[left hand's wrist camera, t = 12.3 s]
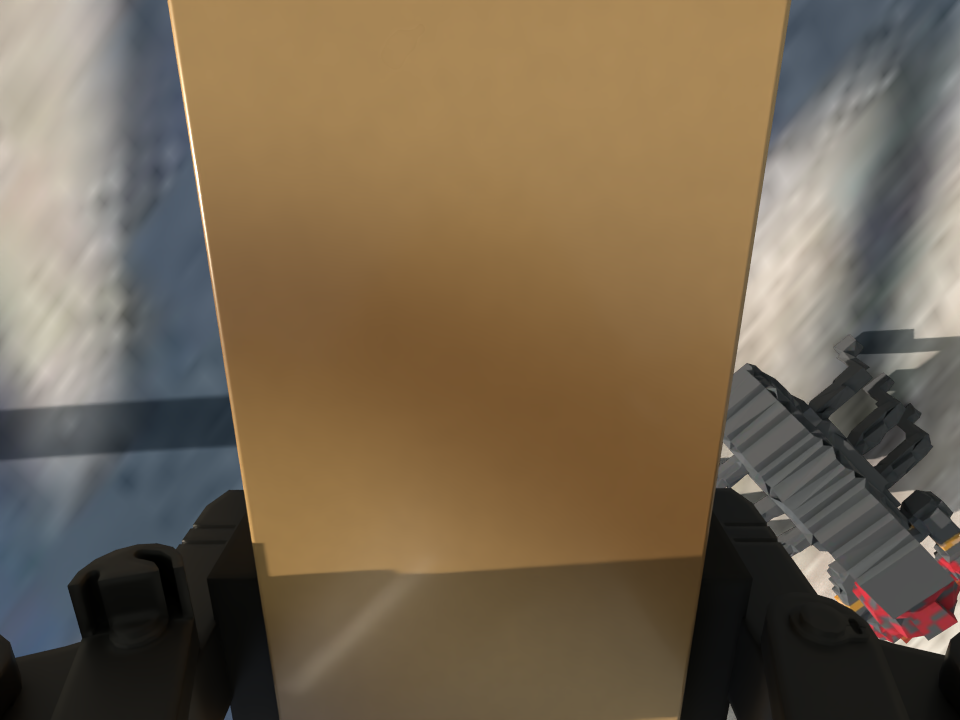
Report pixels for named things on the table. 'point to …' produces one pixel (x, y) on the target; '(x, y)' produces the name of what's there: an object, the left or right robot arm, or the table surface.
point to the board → (479, 333)
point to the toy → (848, 495)
